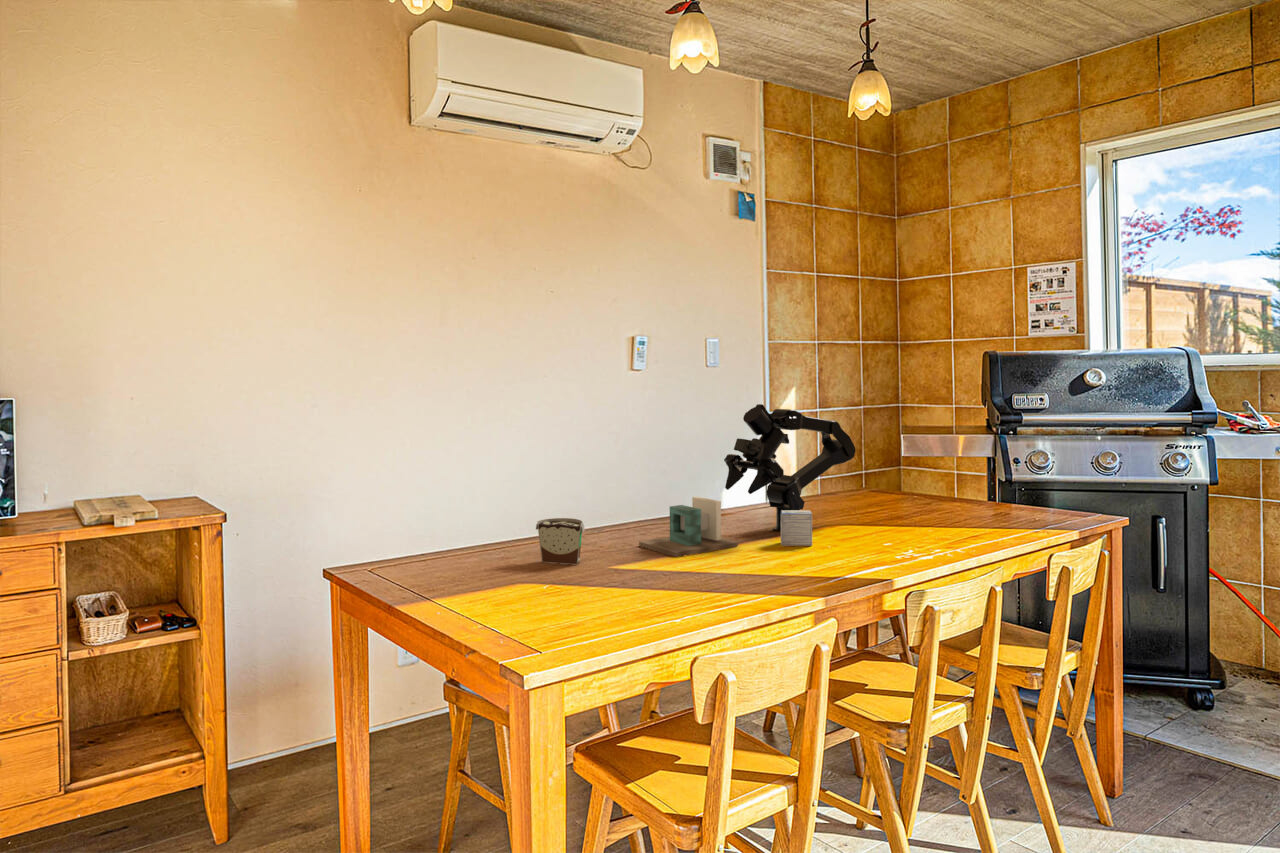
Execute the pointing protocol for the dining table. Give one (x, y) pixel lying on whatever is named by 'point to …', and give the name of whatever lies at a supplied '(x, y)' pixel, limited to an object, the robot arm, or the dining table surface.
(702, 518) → the cream upright panel
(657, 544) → the board
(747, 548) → the dining table surface
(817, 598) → the dining table surface
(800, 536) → the medicine box
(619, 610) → the dining table surface
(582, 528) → the food container
